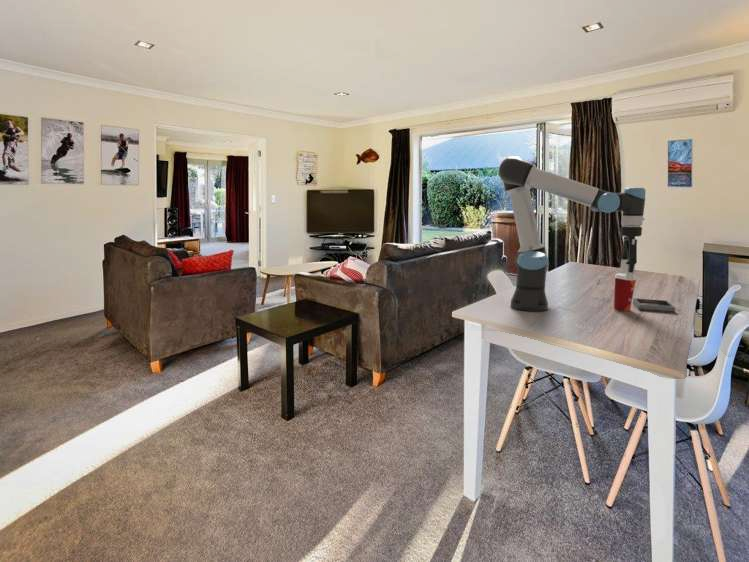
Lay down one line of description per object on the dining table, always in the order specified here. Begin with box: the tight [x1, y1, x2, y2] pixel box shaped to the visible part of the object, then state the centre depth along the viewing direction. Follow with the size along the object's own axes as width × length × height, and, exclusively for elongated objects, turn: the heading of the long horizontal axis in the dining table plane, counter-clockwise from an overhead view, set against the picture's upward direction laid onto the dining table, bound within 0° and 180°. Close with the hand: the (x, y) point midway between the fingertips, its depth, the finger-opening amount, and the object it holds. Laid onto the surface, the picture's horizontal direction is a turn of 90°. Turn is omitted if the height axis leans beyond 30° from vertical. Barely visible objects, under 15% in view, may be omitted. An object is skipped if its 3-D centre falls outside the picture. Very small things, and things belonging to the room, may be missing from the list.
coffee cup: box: [613, 272, 638, 312], centre depth 186 cm, size 8×8×15 cm
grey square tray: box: [632, 297, 676, 314], centre depth 190 cm, size 13×13×2 cm
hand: (626, 277), depth 184 cm, fingers open, 13 cm apart
